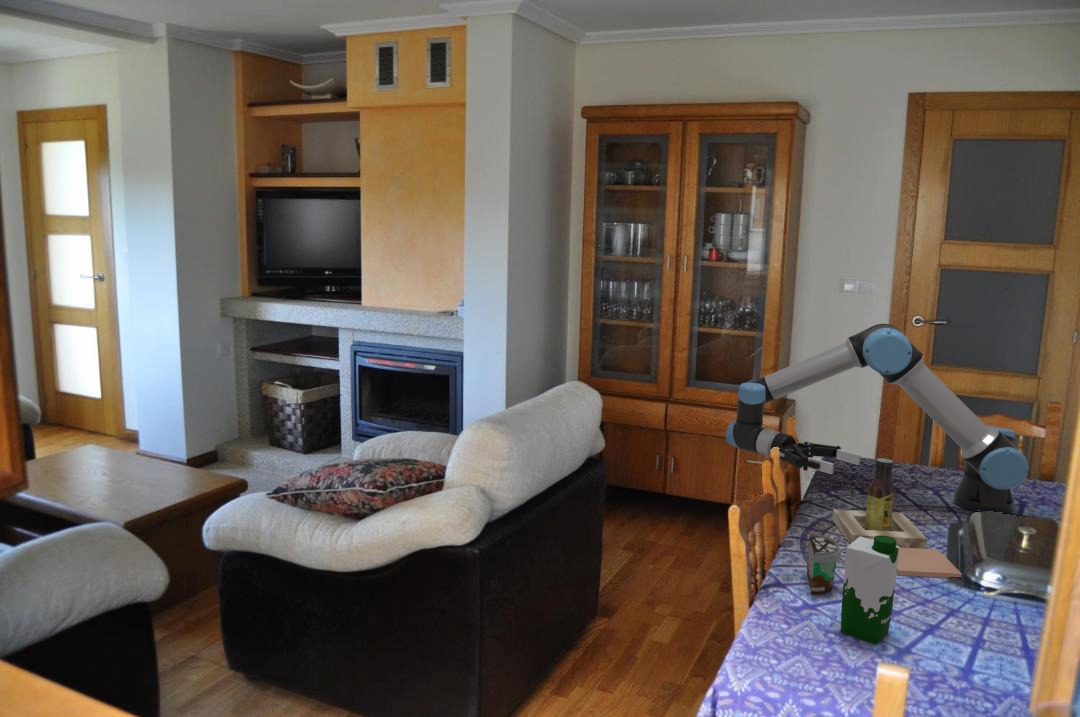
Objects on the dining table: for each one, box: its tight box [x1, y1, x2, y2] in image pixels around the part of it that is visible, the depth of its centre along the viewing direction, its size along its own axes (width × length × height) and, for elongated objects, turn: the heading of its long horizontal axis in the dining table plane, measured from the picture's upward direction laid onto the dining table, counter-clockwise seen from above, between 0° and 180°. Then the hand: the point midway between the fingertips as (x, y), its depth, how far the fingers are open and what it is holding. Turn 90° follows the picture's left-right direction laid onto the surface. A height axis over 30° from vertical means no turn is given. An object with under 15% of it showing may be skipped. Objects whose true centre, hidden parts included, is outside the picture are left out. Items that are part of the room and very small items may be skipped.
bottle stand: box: [831, 509, 928, 549], centre depth 219 cm, size 18×18×3 cm
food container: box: [806, 532, 842, 595], centre depth 188 cm, size 12×6×10 cm, turn 168°
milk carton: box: [840, 535, 900, 645], centre depth 167 cm, size 9×9×20 cm
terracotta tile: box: [896, 547, 963, 579], centre depth 201 cm, size 14×14×1 cm
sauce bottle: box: [864, 458, 896, 531], centre depth 218 cm, size 7×6×20 cm
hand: (846, 464), depth 224 cm, fingers open, 13 cm apart
